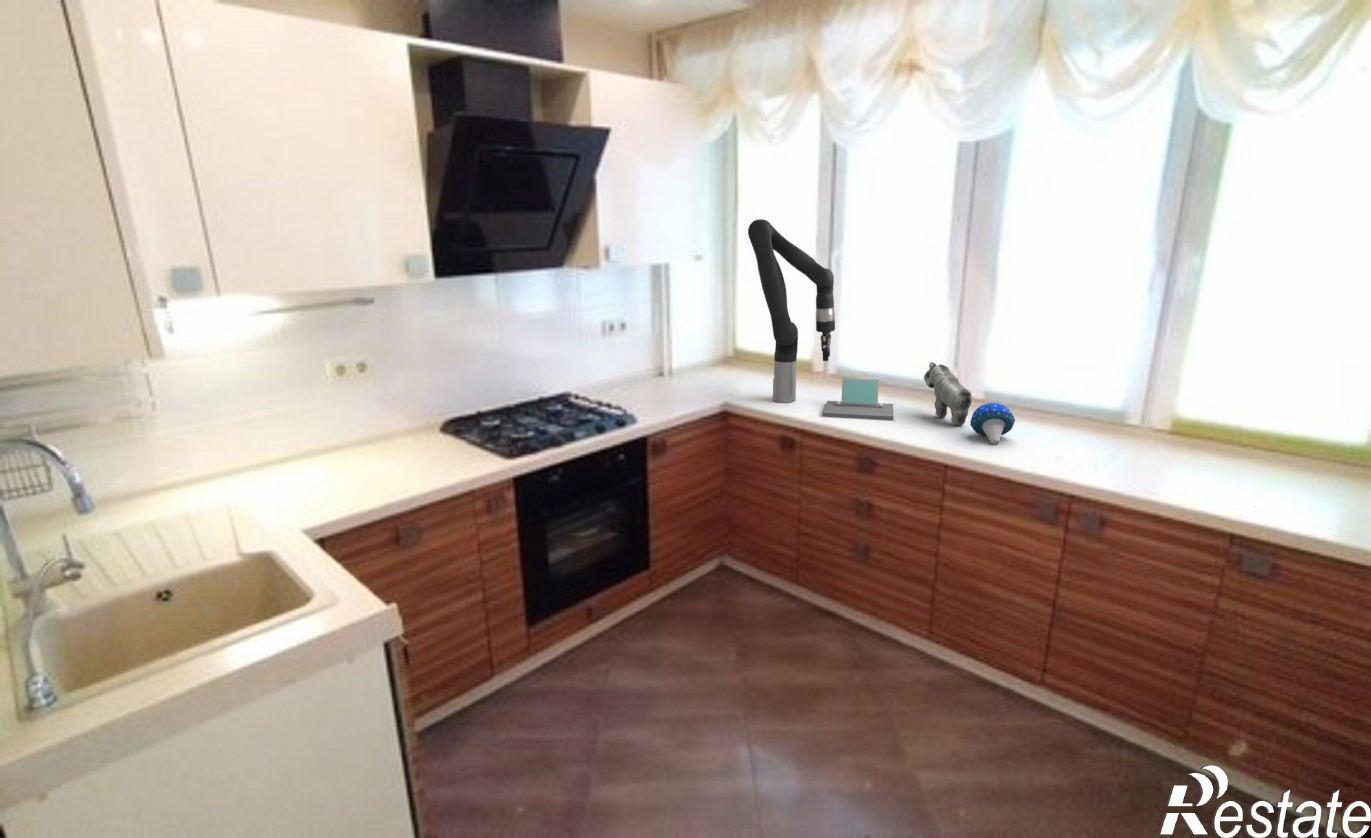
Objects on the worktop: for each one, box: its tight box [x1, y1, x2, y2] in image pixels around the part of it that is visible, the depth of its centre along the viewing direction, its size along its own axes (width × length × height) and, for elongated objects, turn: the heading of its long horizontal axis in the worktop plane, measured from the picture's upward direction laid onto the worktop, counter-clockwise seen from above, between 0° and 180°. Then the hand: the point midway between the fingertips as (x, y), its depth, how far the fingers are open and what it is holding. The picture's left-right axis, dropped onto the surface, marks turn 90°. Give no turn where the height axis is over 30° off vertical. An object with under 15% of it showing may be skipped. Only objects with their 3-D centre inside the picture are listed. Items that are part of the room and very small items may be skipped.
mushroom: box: [969, 402, 1016, 445], centre depth 227 cm, size 14×14×15 cm
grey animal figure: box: [923, 361, 973, 427], centre depth 249 cm, size 25×9×20 cm, turn 15°
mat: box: [823, 400, 895, 421], centre depth 262 cm, size 26×18×3 cm
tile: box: [840, 378, 880, 405], centre depth 265 cm, size 14×10×2 cm
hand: (826, 358), depth 273 cm, fingers open, 8 cm apart
